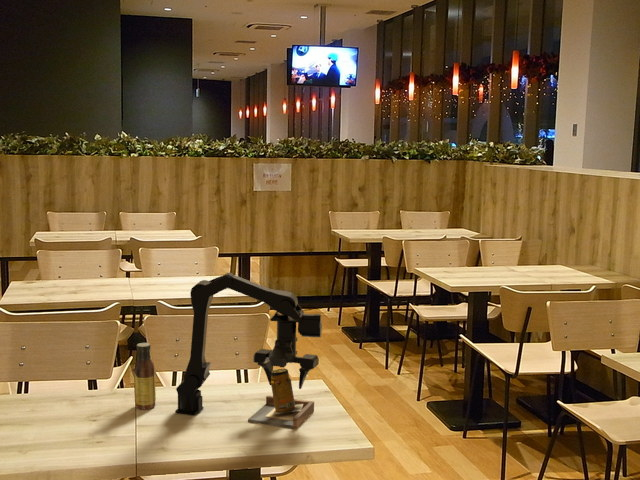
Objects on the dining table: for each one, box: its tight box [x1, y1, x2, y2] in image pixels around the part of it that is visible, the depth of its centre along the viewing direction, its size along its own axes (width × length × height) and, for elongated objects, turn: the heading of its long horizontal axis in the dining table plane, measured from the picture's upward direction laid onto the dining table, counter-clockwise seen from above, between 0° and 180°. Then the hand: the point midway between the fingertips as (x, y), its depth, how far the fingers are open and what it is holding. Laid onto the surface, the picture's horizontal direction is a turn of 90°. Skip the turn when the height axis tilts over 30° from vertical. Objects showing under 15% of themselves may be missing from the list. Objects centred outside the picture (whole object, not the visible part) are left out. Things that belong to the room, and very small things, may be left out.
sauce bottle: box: [133, 342, 157, 410], centre depth 240 cm, size 7×6×20 cm
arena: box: [247, 395, 315, 430], centre depth 236 cm, size 15×15×3 cm
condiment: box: [270, 368, 303, 414], centre depth 236 cm, size 7×8×12 cm
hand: (285, 386), depth 236 cm, fingers open, 9 cm apart
